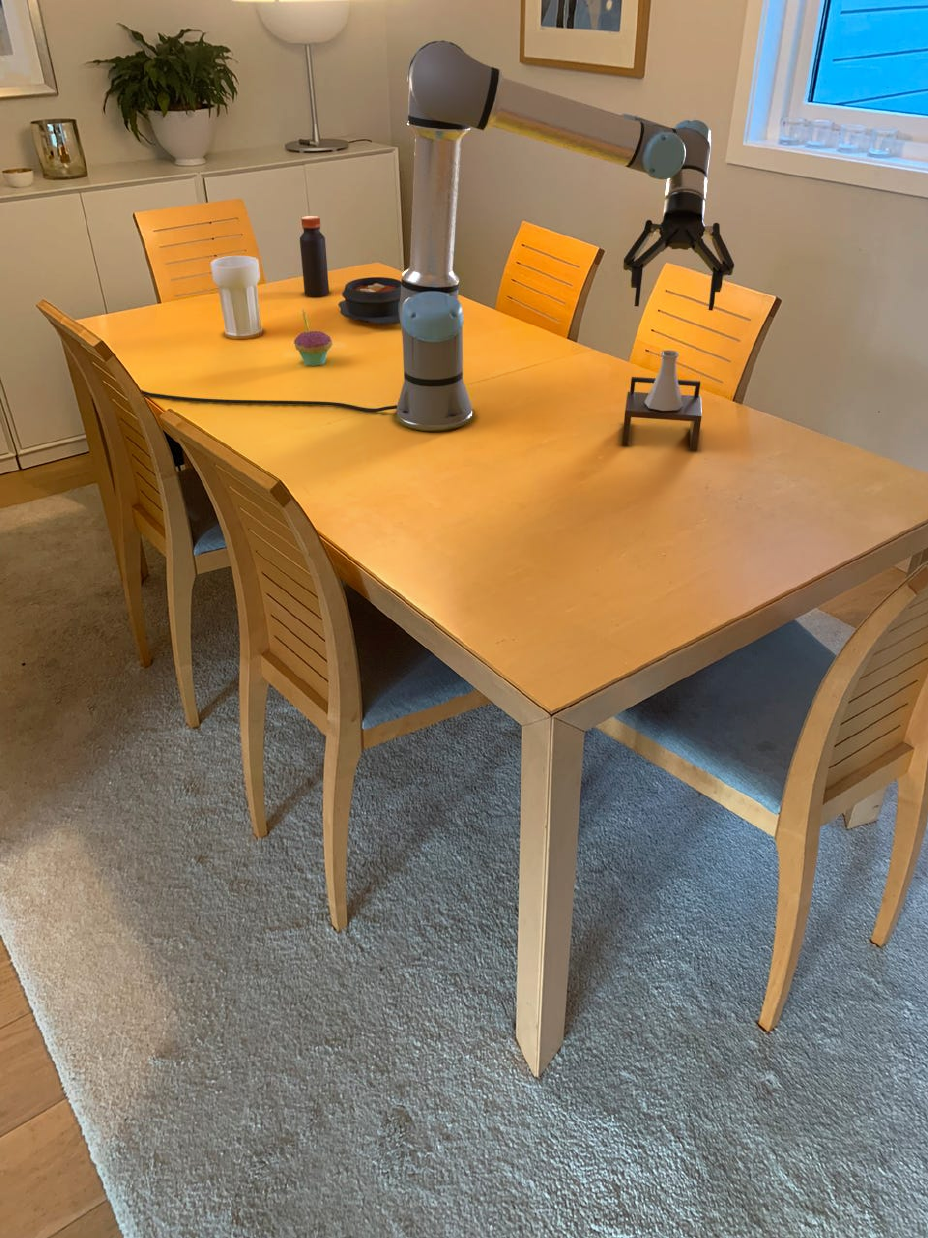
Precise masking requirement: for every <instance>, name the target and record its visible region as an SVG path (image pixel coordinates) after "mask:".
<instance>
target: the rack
mask: <svg viewBox="0 0 928 1238" xmlns="http://www.w3.org/2000/svg"><path fill="white" fill-rule="evenodd" d="M655 379H656V377H641V376H631V380H630V388H629V391H627V394H626V400H625V401H626V402H625V409H624V417H623V427H622V428H623V429H622V438H621V439H622V440H621V446H624V447H628V446H629V440H630V434H631V424H632V423H631V422H632V418H637V419H654V420H667V421H681V422H682V421H683V422H690V425H689V451H690V452H691V451H692V452H693V451H694V452H697V451H698V443H699V438H700V437H699V436H700V430H701V424H702V418H703V417H702V416H703V415H702V413H703V411H702V396H701V395H700V388H701V381H700V380H690V379H688V380H687V379H677V380H678V384H679V386H686V387H689V386H690V387H695V388H694V393H693V395H686V394H681V397H682V401H683V406H682V407H681V408H680V409H679V410H672V411H661V410H656V409H651V408H648V407H647V405H646V404H645V400H646V398H647V396H648V394H649V392H642V391H641V392H640V391H635V390H636V383H639V384H640V383H641V384H654V382H655Z"/></svg>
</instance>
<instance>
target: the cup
mask: <svg viewBox="0 0 928 1238" xmlns="http://www.w3.org/2000/svg"><path fill="white" fill-rule="evenodd" d="M209 264H210V269H211V274H212V280H213V282H214V284H216V286H217V288H218V293H219V299H220V305H221V312H222V317H223V322H224V329H225V330H224V334H225V336H226V338H229V339H233V340H249V339H254V338H258V337H259V336H262V335H263V328H262V325H261V315H260V314H261V313H260V303H259V302H260V301H259V292H258V284H259V282H260V279H261V273H260V262H259V259H258V258H257V257H254V256H250V255H229V256H222V257H218V258H214V259H212V260H211V262H210V263H209Z"/></svg>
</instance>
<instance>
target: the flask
mask: <svg viewBox="0 0 928 1238" xmlns="http://www.w3.org/2000/svg"><path fill="white" fill-rule="evenodd" d="M660 356H661V363H660V366H659V370H658V373H657V375H656V377H655V378H656V379H655V382H654V383H652V386H651V388H650V390H649V391H648V393H649V394H648V396H647V398H646V400H645V404H646V405H647V407H648V408H651V409H656V410H661V411H672V410H679V409H680V408H681V407H682V406H683V401H682V397H681V395H682V394H681V389H680V385H679V384H678V380H679V379H678V376H677V375H678V374H677V359H678V357H679V356H680V353H679V352H677V351H675V350H662V351H661V352H660Z"/></svg>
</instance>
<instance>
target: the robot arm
mask: <svg viewBox="0 0 928 1238" xmlns="http://www.w3.org/2000/svg"><path fill="white" fill-rule="evenodd" d="M406 75H407V77H406V79H407V80H406V81H407V86H408V105H407V106H408V107H407V125H408V127H409V128H410V130H411V131H412V132H413V134H414V136H415V137H414V156H413V157H414V158H413V159H414V160H413V180H412V181H413V183H412V203H411V225H410V226H411V229H410V248H409V249H410V252H409V267H408V268H407V269H406V270H405V271H404V272H403V273H402V274H401V280H400V281H401V298H400V302H399V318H400V322H401V323H400V327H401V328H400V329H401V335H402V336H401V337H402V354H403V355H402V356H403V377H404V378H403V379H404V380H403V384H402V388H401V391H400V394H399V398H398V402H397V404H396V405H387V406H381V407H377V408H374V407H372V408H370V407H361V406H357V405H353V404H349V403H344V402H333V401H319V400H318V401H317V400H277V399H276V400H272V399H271V400H270V399H269V400H267V399H265V400H264V399H261V400H260V399H222V398H220V399H219V398H204V397H203V398H202V397H189V396H179V395H172V394H171V395H170V394H161V393H155V392H149V391H145V390H143V389H140V390H141V391H142V395H144V396H147V397H152V398H159V399H168V400H177V401H187V402H200V403H213V404H215V403H216V404H248V405H249V404H253V405H254V404H255V405H304V406H305V405H306V406H307V405H308V406H309V405H310V406H311V405H312V406H329V407H330V406H331V407H340V408H348V409H351V410H356V411H360V412H365V413H366V412H367V413H378V412H384V411H389V410H390V411H391V410H396V420H397V422H398V423H399V424H401V425H402V426H403V427H405V428H408V429H412V430H414V431H420V432H446V431H451V430H456V429H459V428H461V427H463V426H466V425H468V424H469V423H470V422H471V420H472V419H473V406H472V403H471V400H470V396H469V394H468V391H467V388H466V385H465V382H464V324H465V323H464V322H465V317H464V316H465V315H464V312H463V311H464V310H463V305H462V303H461V302H460V300H459V291H460V290H459V289H460V278H459V276H458V275H457V274H456V273H455V272H454V270H453V269H454V256H455V255H454V252H455V241H456V226H457V225H456V223H457V209H458V196H459V195H458V194H459V178H460V167H461V165H460V164H461V149H462V139H463V138H464V136H465V135H467V134H468V133H469V132H470V131H471V128H473V129H476V130H479V131H480V130H481V131H487V130H488V129H490V128H497V129H499V130H503V131H506V132H510V133H513V134H516V135H519V136H522V137H526V138H529V139H532V140H536V141H540V142H542V143H547V144H549V145H553V146H556V147H560V148H563V149H566V150H570V151H573V152H576V153H579V154H582V155H586V156H588V157H592V158H596V159H599V160H602V161H605V162H609V163H613V164H615V165H618V166H623V167H625V168H628V169H631V170H633V171H638V172H640V173H644V174H647V175H648V176H649V177H650V178H653V179H657V180H666V184H665V194H664V204H663V212H662V221H661V222H660V224H659V223H654V222H653V221H652V220H651V219H647V220H646V221H645V224H644V228H643V231H642V232H641V233H640V235H638V238H637V239H636V241H635V242H634V244H633V245H632V246H631V248H630V249H629V251H628V253H627V254H626V255H625V257H624V258H623V262H622V263H623V267H622V269H623V270H624V271H630V272H631V276H630V277H631V278H630V288H631V289H635V298H634V307H640V299H641V289H642V281H643V272H644V271H643V270H644V268H645V267H646V266H647V265H649V264H650V263H651V262H652V261H653V260H654V259H655V258H656V257H657V256H659V254H661V253H662V252H664V251H665V250H667V248H670V249H671V250H683V251H684V250H685V251H688V250H689V249H692V251H693V252H694V253H695V254H697V255H698V256H699V257H700V259H701V260H702V261H703V263H704V264H705V265H706V266H707V268H708V269H709V270H710V271H711V272H712V275H711V281H710V291H709V302H708V311H714V307H715V300H716V293H721V291H722V289H723V288H722V287H723V282H724V277H725V276H731V275H733V272H734V269H735V264H734V261H733V259H732V257H731V254H730V252H729V250H728V247H727V246H726V243H725V241H724V240H723V237H722V235H721V225H720V223H719V222H714V223H713V224H712V225H706V226H705V223H704V217H705V216H704V215H705V206H706V205H705V201H706V195H707V185H708V172H709V164H710V156H711V152H712V146H711V145H712V144H711V143H712V138H711V136H712V135H711V130H710V127H709V126H708V125H707V123H705V122H703V121H701V120H699V119H693V120H689V119H685V120H682V121H680V122H678V123H677V124H676V125H675V126H674V127H669V126H666V125H663V124H661V123H658V122H654V121H652V120H649V119H645V118H643V117H639V116H638V115H632V114H628V113H622V114H618V113H615V112H612V111H608V110H605V109H602V108H598V107H596V106H592V105H589V104H586V103H582V102H580V101H577V100H574V99H571V98H567V97H564V96H561V95H559V94H555V93H552V92H549V91H545V90H543V89H539V88H537V87H533V86H531V85H527V84H525V83H521V82H518V81H515V80H511V79H508V78H505V76H504V74H503V72H502V70H501V69H499V68H497V67H493V66H490V65H488V64H485V63H484V62H481V61H479V60H477V59H476V58H473V57H472V56H470V55H469V54H468V53H466V51H465V50H464V49H463V48H462V47H461V46H459V45H457V44H456V43H454V42H452V41H446V40H434V41H431V42H427V43H425V44H423V45H422V46H421V47H420V48H418V50H417V51H416V52H415V53H414V55H413V56H412V58H411V60H410V63H408V68H407V74H406ZM657 233H659V237H658V238H657V240H656V241H655V242H654V243H653V244H652V245H650V247H649V248H647V249H646V251H644V252H643V253H642V254H641V252H642V251H643V249H644V248H645V247H646V245H647V244H648V242H649V240H650V238H651V237H652V238H653V236H655V234H657ZM704 235H706V236H707V237H708V239H709V240H711V243H712V246H713V248H714V250H715V252H716V255H717V256H718V258H717V256H716V255H715V254H714V253H713V251H712V250H711V249H710V248H709V247H708V246H707V244H706V243H705V242H704V239H703V236H704ZM640 254H641V255H640Z"/></svg>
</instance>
